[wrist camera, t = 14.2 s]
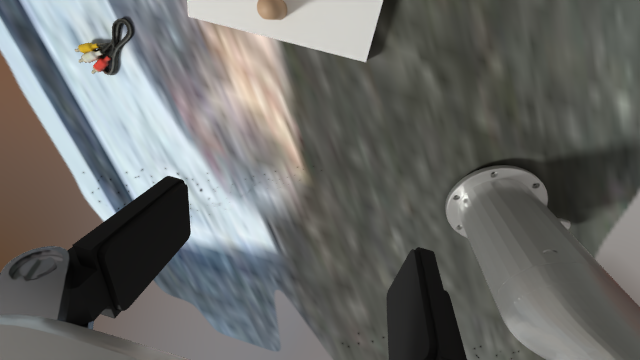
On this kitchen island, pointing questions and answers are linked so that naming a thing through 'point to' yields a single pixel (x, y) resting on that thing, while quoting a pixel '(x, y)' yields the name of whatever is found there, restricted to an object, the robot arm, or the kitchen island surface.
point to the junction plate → (299, 21)
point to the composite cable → (106, 49)
